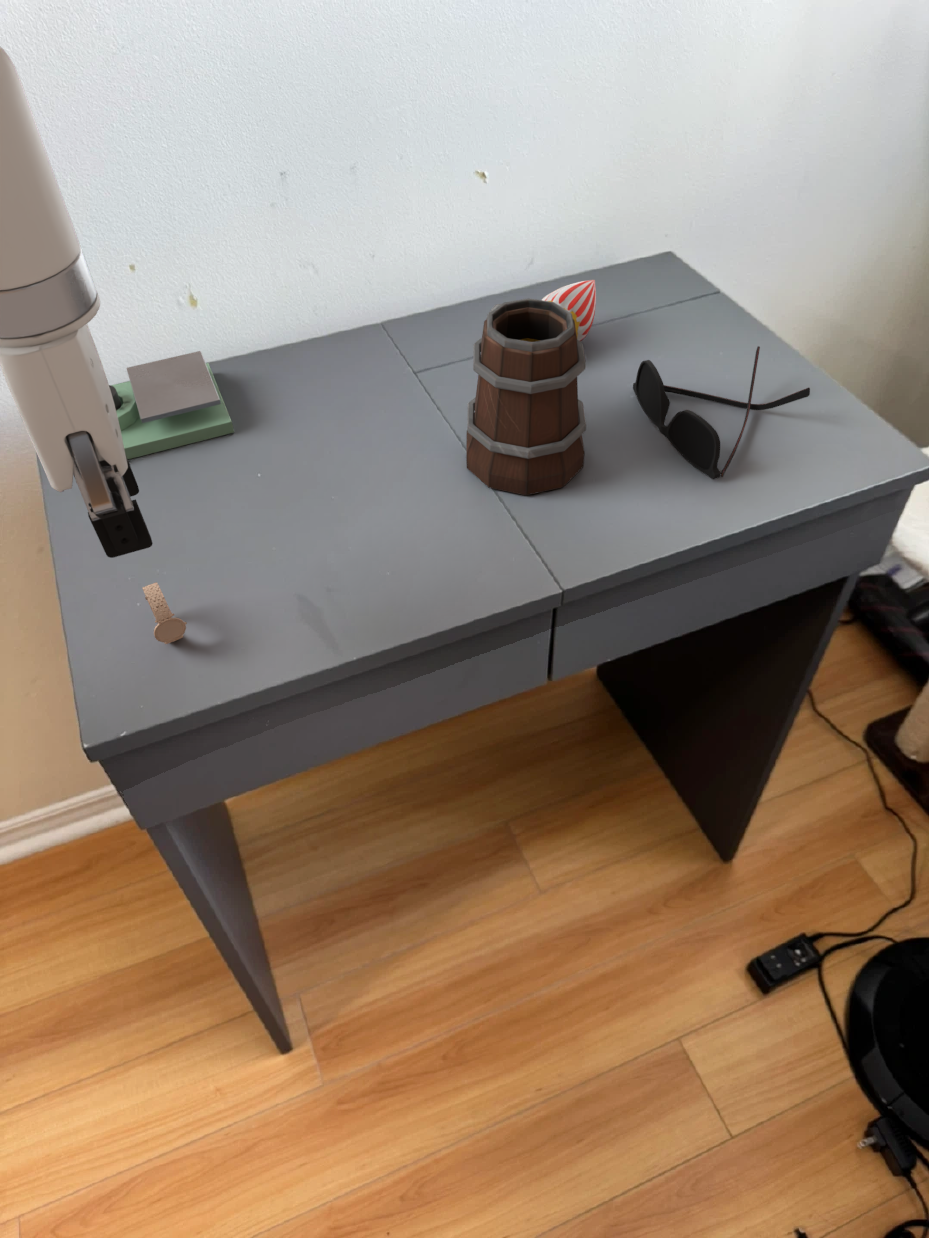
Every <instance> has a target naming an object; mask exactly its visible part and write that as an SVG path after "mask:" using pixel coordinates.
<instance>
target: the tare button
mask: <svg viewBox="0 0 929 1238" xmlns="http://www.w3.org/2000/svg"><path fill="white" fill-rule="evenodd" d="M111 385H112V384H109V387H110V391H111V394H112V397H113V401H114V404H115V408H116V410H118V409H120V407H121V401H120V399H119V396H118V393H117V391H116V389H115V388H114V387H113V386H111Z"/></svg>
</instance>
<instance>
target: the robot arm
mask: <svg viewBox="0 0 929 1238" xmlns="http://www.w3.org/2000/svg"><path fill="white" fill-rule="evenodd" d="M100 307H101V298H100V296H99V293H98V290H97V286H96V284H95V281H94V278H93V276H92V273H91V271H90V267H89V264H88V262H87V260H86V257H85V254H84V251H83V248H82V245H81V243H80V241H79V237H78V235H77V232H76V228H75V227H74V223H73V220H72V218H71V215H70V212H69V210H68V208H67V205H66V202H65V199H64V196H63V194H62V191H61V188H60V185H59V183H58V180H57V178H56V175H55V172H54V169H53V165H52V163H51V161H50V157H49V154H48V152H47V149H46V146H45V144H44V141H43V138H42V136H41V132H40V130H39V127H38V124H37V121H36V118H35V115H34V113H33V110H32V107H31V105H30V102H29V98H28V96H27V92H26V90H25V88H24V85H23V82H22V80H21V77H20V75H19V73H18V71H17V68H16V66H15V64H14V62H13V60H12V59H11V57H10V55H8V53H7V52H6V51H5V49H4V48H3V47H1V46H0V368H1V369H0V370H1V372H2V374H3V377H4V380H5V383H6V385H7V387H8V390H9V392H10V395H11V397H12V400H13V402H14V404H15V407H16V409H17V412H18V414H19V416H20V419H21V421H22V422H23V426H24V427H25V430H26V432H27V435H28V436H29V439H30V441H31V443H32V446H33V448H34V450H35V452H36V455H37V457H38V459H39V461H40V464H41V466H42V468H43V470H44V473H45V476H46V478H47V480H48V483H49V485H50V487H51V489H53V490H55V491H57V492H59V493H64V492H65V491H66V490H71V489H73V483H74V482H73V481H74V480H75V483H76V484H77V487H78V489H79V492H80V494H81V498H82V500H83V502H84V505H85V507H86V509H87V517H88V519H89V520H90V523H91V525H92V527H93V530H94V532H95V535H96V536H97V539H98V540H99V542H100V545H101V547H102V549H103V551H104V553H105V555H106V557H108V558H111V559H112V558H117V557H122V556H124V555H127V554H131V553H135V552H138V551H142V550H145V549H149V548H151V547H152V546H153V544H154V543H153V540H152V536H151V533H150V532H149V528H148V527H147V524H146V522H145V519H144V516H143V514H142V510H141V509H140V507H139V504H138V502H137V499H136V498H135V499H132V498H131V497H134V496H137V495H138V494H139V493H140V488H139V485H138V482H137V480H136V477H135V474H134V473H133V469H132V466H131V464H130V461H129V459H127V457H126V454H125V450H124V445H123V440H122V435H121V430H120V425H119V421H118V417H117V412H116V408H115V404H114V401H113V397H112V394H111V391H110V387H109V385H110V383H109V381H108V377H107V374H106V372H105V368H104V366H103V363H102V359H101V357H100V354H99V352H98V349H97V346H96V344H95V343H96V342H95V340H94V338H93V335H92V332H91V329H90V326H89V325H88V324H89V323H90V322H91V321H92V320H93V319H94V318H95V317H96V315H97V314H98V311H99V310H100Z"/></svg>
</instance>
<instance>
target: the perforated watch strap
mask: <svg viewBox="0 0 929 1238" xmlns="http://www.w3.org/2000/svg"><path fill="white" fill-rule="evenodd" d="M141 588H142V591H143V594H144V596H145V597H144V599H145V601H147V603H148V605H149V607H150V609H151V612H152V614H153V617H154V618H155V620H154V623H157V625H155V627H154V629H153V636H154V639H155V640H157V642H161V643H163V644H164V645H169V644H171V643H173V642H176V641H178V640H181V639H182V638H184V635H185V633H186V630H187V624H188V623H187V621H184V620H182V619H181V618H179V617H175V613H173V612H172V610H171V609H170V607H169V605H168V602H167V600H166V597H165V596H164V594H163V591H162V589H161V587H160V585H159V584H158V582H157V581H156V582H153V583H150V584H147V585H145V586H142V587H141Z"/></svg>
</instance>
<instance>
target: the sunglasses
mask: <svg viewBox="0 0 929 1238" xmlns="http://www.w3.org/2000/svg"><path fill="white" fill-rule="evenodd" d="M760 349H761V347H760V346H759V345H758V346H757V348H756V350H755V356H754V361H753V368H752V375H751V381H750V387H749V394H748V399H747V402H744V401H739V400H735V399H730V398H727V397H721V396H718V395H714V394H709V393H704V392H700V391H696V390H691V389H687V388H682V387H675V386H671V385H667V384H666V385H665V384H664V381H663V380H662V379H663V378H662V377H661V375H660V372H659V371H658V368H657V367H656V366H655V364H654V363H653V362H652V361H651V360H650V359H646V360H645V359H644V360H643V361H641V362H640V364H639V367H638V369H637V374H636V378H635V382H633V383H632V390H633V392H634V395H635V397H636V399H637V401H638V403H639V405H640V407H641V409H642V410H643V412H644V413H645V415H646V416H647V417H648V419H649V421H651V422H652V424H653V425H654V426H655V427H656V428H657V429H658V431H659V433H660V434H662V436H664V437H665V439H667V440H668V442H669V443H670V445H671V446H672V447H673V448H674V449H675V450H676V451H677V452H678V453H679V454H680V455H681V456H682V457H683V458H684V460H685V461H687V462H688V463H689V464H690V465H692V466H693V467H694V468H695V469H696V470H698V471H700V472H701V473H703V474H704V475H706V476H707V477H708V478H710V479H712V480H716V479H719V478H720V477H722V478H723V477H724V475H725V474H726V471H727V470H728V467H729V465H730V464H731V461H732V459H733V458H734V455H735V454H736V451H737V449H738V447H739V445H740V443H741V442H740V441H741V440H742V437H743V434H744V432H745V431H744V430H745V428H746V426H747V422H748V419H749V416H750V415H749V414H750V411H751V410H752V411H766V410H770V409H774V408H777V407H780V406H784V405H786V404H787V405H788V404H790V403H792V402H796V401H799V400H802V399H804V398H808V397H810V395H811V387H806V388H804V389H801V390H798V391H796V392H793V393H791V394H788V395H785V396H783V397H781V398H778V399H776V400H772V401H769V402H765V403H752V398H753V392H754V387H755V385H754V384H755V381H756V374H757V369H758V368H757V367H758V361H759V356H760V355H759V354H760ZM667 393H669V394H675V395H681V396H686V397H690V398H695V399H699V400H700V399H701V400H704V401H710V402H713V403H719V404H723V405H728V406H732V407H737V408H740V409H744V410H745V409H746V412H745V416H744V420H743V425H742V427H741V430H740V432H739V435H738V437H737V440H736V442H735V445H734V446H733V449H732V451H731V452H730V455H729V457H728V459H727V461H726V463H725V465H724V466H723V468H722V469H719V468H718V464H719V460H720V455H721V440H720V436H719V434H718V432H717V430H716V429H715V427H714V426H712V425H711V424H710V423H709V422H708V420H706V419H705V418H704V417H702V416H700V415H699V414H697V413H696V412H694V411H692V410H689V409H684V410H681V411H678V412H676V414H674V416H673V417H672V418H671V419H670V421H669V423H668V424H667V425H666V424H665V423H666V422H665V421H666V418H667V415H668V411H669V409H670V405H671V401H670V398H669V397H668V395H667Z"/></svg>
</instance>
